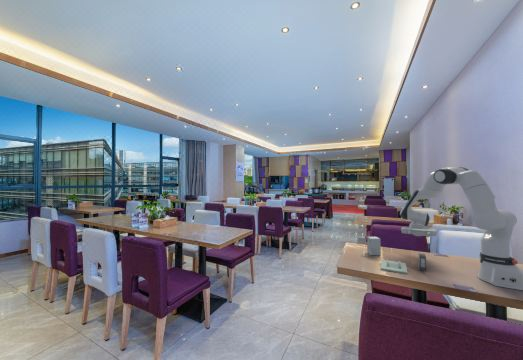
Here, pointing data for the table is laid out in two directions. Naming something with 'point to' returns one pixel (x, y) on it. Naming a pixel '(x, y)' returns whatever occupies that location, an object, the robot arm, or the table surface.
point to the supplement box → (374, 245)
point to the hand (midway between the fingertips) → (419, 233)
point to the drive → (422, 262)
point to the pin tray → (394, 266)
